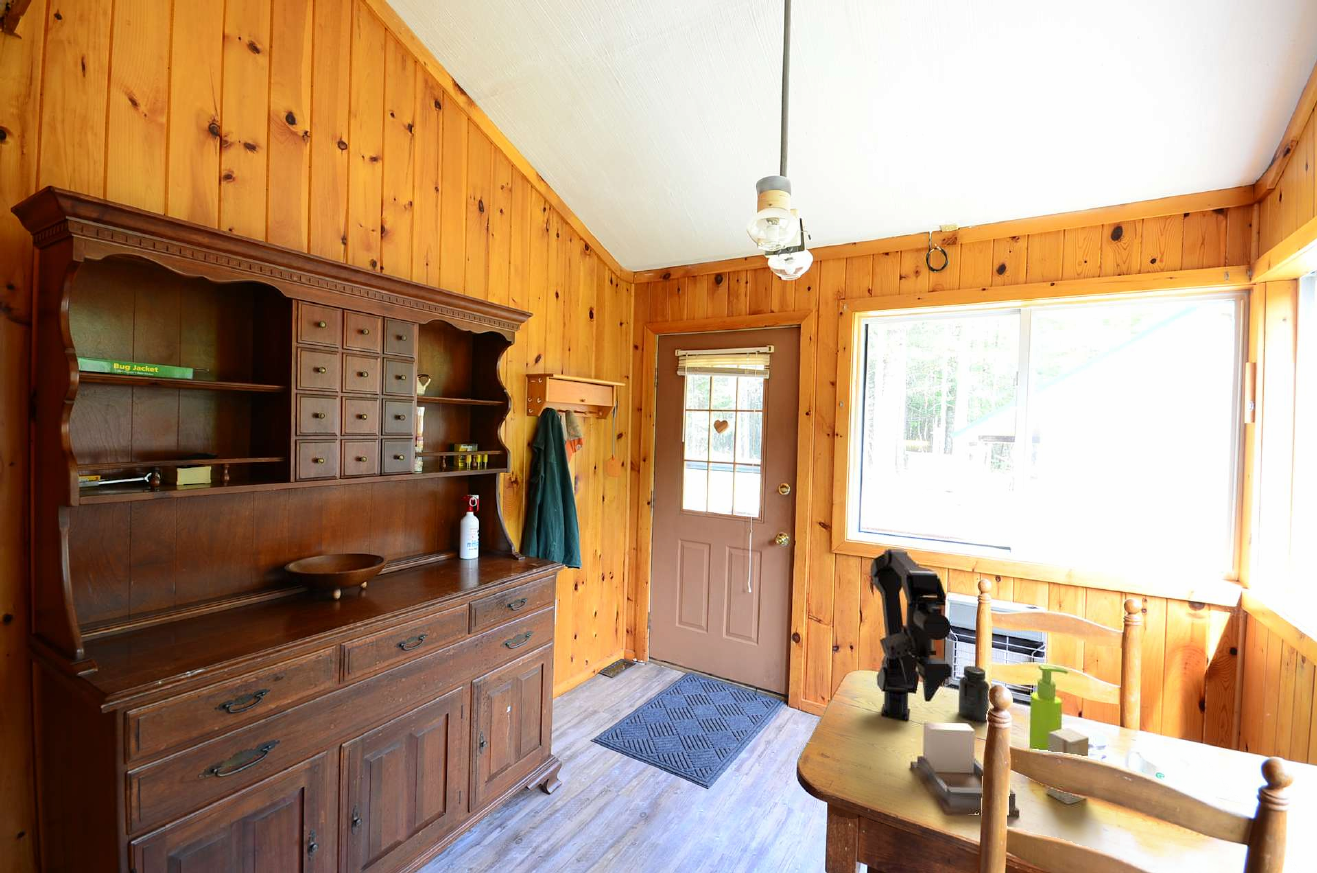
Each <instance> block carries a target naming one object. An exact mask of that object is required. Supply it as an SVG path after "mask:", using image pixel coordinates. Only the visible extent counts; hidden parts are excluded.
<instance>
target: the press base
mask: <svg viewBox="0 0 1317 873" xmlns="http://www.w3.org/2000/svg"><path fill="white" fill-rule="evenodd" d="M909 762H910V769H911V770H912V772H914V774H915V775H916V776H917V778H918V779H919V781H920V782H921V783H922V785H923V786H924V787H925V789H926V790H927V791H928V792H929V794H930V793H931V794H930V795H931V796H932V797H933V800H935V802H936V803H937V804H938V805H939V807H940V808H941V810H942V811H943V812H944V813H945V815H947V816H949V815H950V816H951V815H953V814H959V815H958V816H961V815H960V814H975V813H976V814H978V813H979V816H980V815H981V798H982V776H983V767H984V766H983V765H982V763H981V762H979V761H978V760H977V759H976V758H975V757H974V773H955V772H935V771H934V770H933V769H932V767H931V766H930V765H929V764H928V762H927V761H926V760H925V759H924V758H923V755H917V761H915V760H914V761H913V760H912V761H909ZM1009 789H1010V796H1009V816H1008V817H1017V818H1019V817H1020V809H1019V808H1018V807H1017V806H1016V793H1015V792H1014V791H1013V790H1012V789H1011V788H1009ZM953 816H954V815H953Z"/></svg>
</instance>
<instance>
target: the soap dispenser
mask: <svg viewBox="0 0 1317 873" xmlns="http://www.w3.org/2000/svg"><path fill="white" fill-rule="evenodd" d="M1038 669H1039V670H1040V671H1041V672H1042V673H1041V674H1042V677H1041V678H1038V679H1037V687H1036V688H1037V691H1034V692H1031V693H1030V709H1029V710H1030V714H1029V715H1030V717H1029V749H1030V748H1031V749H1039V750H1048V736H1049V732H1053V731H1056V730H1061V729H1062V724H1063V723H1062V721H1063V719H1062V718H1063V717H1062V715H1063V700H1062V699H1061V698H1060V697H1058V696H1056V692H1057V691H1056V686H1057V684H1056V682H1055V681H1053V680H1052V672H1053V673H1054V672H1056V673H1061V674H1062V673H1063V674H1068V673H1069V671H1068V670H1067V669H1064V668H1063V667H1060V666H1054V665H1044V664H1042V665H1038Z"/></svg>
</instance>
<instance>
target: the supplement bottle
mask: <svg viewBox="0 0 1317 873" xmlns="http://www.w3.org/2000/svg"><path fill="white" fill-rule="evenodd" d="M988 691H989V692H990V684H989V683H988V682H987V681H986V670H984V669H983V668H982V667H981V668H980V667H977V666H973V665H966V666H964V667H963V676H962V677H961V678H960V679H959V681H958V714H959V715H960V716H961V717H962V718H963V719H966V720H968V721H970V722H974V723H985V722H987V721H988V720H986V714H987V711H988V709H989V710H990V698H989V699H988Z"/></svg>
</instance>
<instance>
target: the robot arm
mask: <svg viewBox="0 0 1317 873" xmlns="http://www.w3.org/2000/svg"><path fill="white" fill-rule="evenodd" d="M870 576H871V578H872V580H873V585H874V586H875V588H876V589H877V591H878V592H879V594H880V596H881V604H882V605H881V606H882V614H883V625H884V626H883V627H884V634H885V637H882V638H881V639H879V642H880V645H881V648H882V652H883V654H884V656H883V658H882V659H881V667H880V669H879V670H878V673H877V674H876V684H877V687H878V688H879V689H880V691H881V692H882V693H883V695H884V696H883V703H882V708H881V716H882V717H889V718H894V719H898V720H902V719H903V721H910V715H911V714H910V713H911V709H910V708H909V694H913V695H917V691H918V686H919V680H920V677H921V679H922V688H923V689H922V690H923V697H924V701H925V702H926V703H927V702H931V701H932V699H933V698H934V696H935V694H936V693H937V692H938V690H939V688H940V687H941V685H942V684H943V682H944V681H945V680H948V679H949V678H952V677H953V667H952V666H951V665H950V664H949V663H948V662H946V661H945V660H944V659H943V658H942V657H931V656H937V650H936V649H935V648H934V647H933V646H934V645H933V644H934V643H933V642H934V640H935V641H941V640H944V639H945V638H947V637H948V636H949V635H950V633H951V628H952V625H951V623H950V621H949V619H948V617H947V616H945V614H943V613H942V610H943V609H942V608H941V607H940V606H943V607H945V606H946V599H947V596H946V593H945V590H944V586H943V583H942V581H941V578H940V576H939V575H938V574H937V572H936V571H934V570H933V569H930V568H927V567H921V566H919V565H918V564H917V562H916V561H915V560H914V559H912V558H911V557H910V556H909V555H908V552H907V550H904V549H897V548H896V549H894V548H893V549H892V548H891V549H890V548H888V549H885V550H884V552H883V553H882V554H881V555H878V556H877V557H875V558H874V559H873V561H872V562H871V564H870ZM901 590H903V593H904V596H905V599H906V622H905V624H906V625H904V620H903V612H902V611H903V610H902V604H901V596H900V595H901V593H900V592H901Z"/></svg>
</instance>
